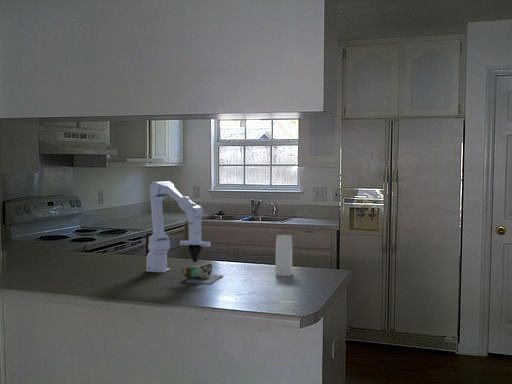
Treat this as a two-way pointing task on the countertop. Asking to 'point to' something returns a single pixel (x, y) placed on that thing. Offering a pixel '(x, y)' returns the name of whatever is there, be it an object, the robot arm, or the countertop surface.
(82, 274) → the countertop surface
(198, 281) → the mat
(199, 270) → the food container
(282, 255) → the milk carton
